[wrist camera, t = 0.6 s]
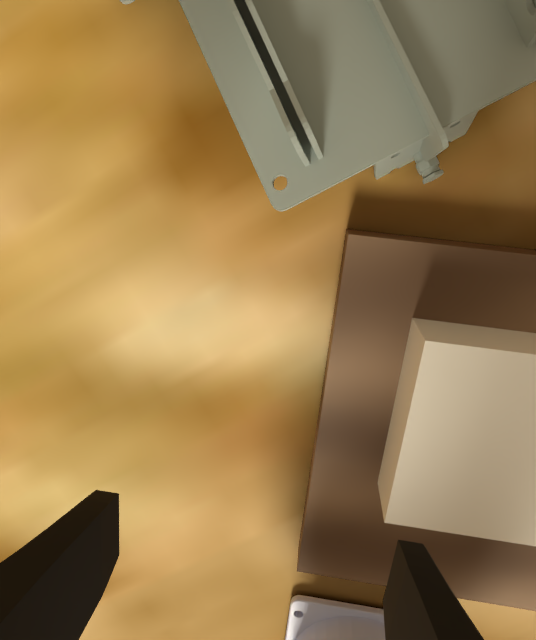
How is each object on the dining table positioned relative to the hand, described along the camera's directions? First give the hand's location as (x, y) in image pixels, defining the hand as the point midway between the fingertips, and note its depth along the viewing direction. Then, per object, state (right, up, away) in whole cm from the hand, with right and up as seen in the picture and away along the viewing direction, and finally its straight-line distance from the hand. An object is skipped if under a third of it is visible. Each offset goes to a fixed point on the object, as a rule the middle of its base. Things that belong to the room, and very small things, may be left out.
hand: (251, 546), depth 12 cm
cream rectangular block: (+9, +2, +8) cm, 12 cm away
